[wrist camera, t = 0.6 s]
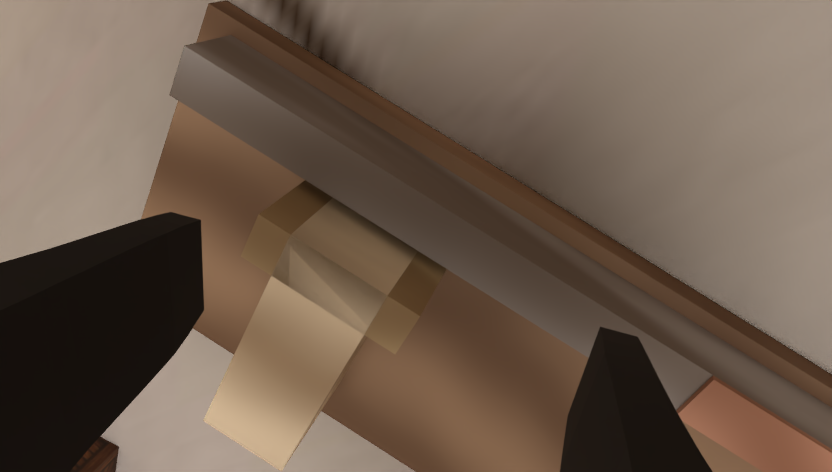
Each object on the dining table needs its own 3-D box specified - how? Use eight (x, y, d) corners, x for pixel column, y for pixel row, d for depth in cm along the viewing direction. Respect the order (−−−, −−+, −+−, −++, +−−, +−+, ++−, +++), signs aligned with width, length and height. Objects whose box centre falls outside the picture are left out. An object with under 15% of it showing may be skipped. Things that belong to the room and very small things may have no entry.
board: (726, 648, 25) (740, 747, 22) (137, 271, 27) (72, 315, 23) (995, 476, 20) (1065, 578, 16) (226, 0, 21) (154, 11, 18)
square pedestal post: (358, 401, 25) (307, 488, 21) (248, 330, 25) (177, 403, 21) (460, 245, 21) (420, 316, 17) (328, 162, 21) (258, 214, 17)
